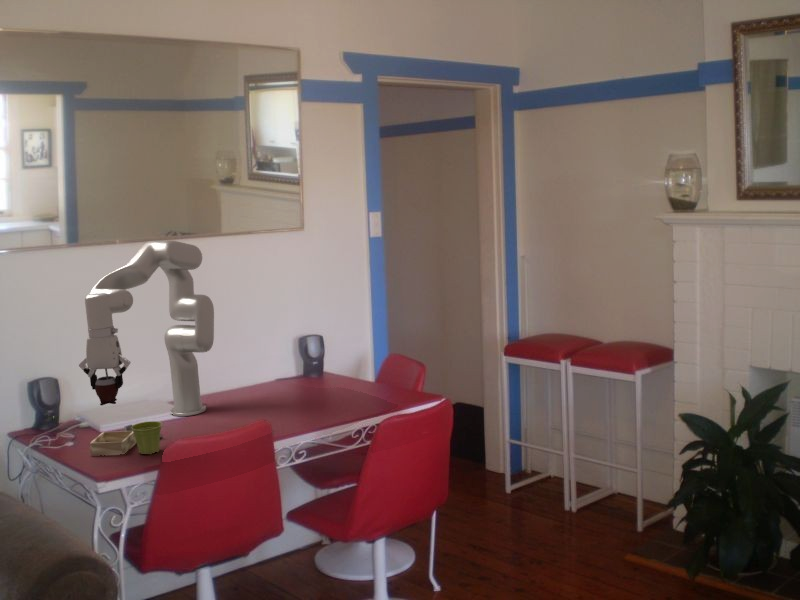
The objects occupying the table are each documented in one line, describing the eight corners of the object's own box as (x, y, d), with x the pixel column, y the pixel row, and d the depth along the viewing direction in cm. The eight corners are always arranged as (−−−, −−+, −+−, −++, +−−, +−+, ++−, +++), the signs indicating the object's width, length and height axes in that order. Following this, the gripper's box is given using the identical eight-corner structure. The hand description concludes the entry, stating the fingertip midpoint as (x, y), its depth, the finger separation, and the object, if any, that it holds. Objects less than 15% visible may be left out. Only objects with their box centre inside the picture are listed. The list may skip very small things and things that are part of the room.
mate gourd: (107, 406, 292) (102, 359, 290) (90, 404, 297) (84, 357, 294) (125, 400, 299) (120, 354, 296) (108, 398, 303) (103, 352, 300)
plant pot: (137, 448, 300) (134, 422, 298) (167, 446, 301) (164, 419, 299) (131, 458, 291) (128, 431, 289) (161, 455, 291) (159, 428, 290)
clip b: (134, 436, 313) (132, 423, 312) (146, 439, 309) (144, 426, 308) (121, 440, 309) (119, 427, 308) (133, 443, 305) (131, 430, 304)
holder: (104, 443, 306) (103, 431, 306) (136, 442, 306) (135, 430, 305) (90, 455, 295) (89, 443, 294) (124, 454, 294) (122, 442, 293)
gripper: (132, 329, 297) (138, 383, 300) (78, 331, 298) (85, 385, 301) (124, 334, 290) (130, 390, 293) (69, 336, 291) (75, 392, 294)
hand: (107, 387), depth 297 cm, fingers closed on mate gourd, 7 cm apart
